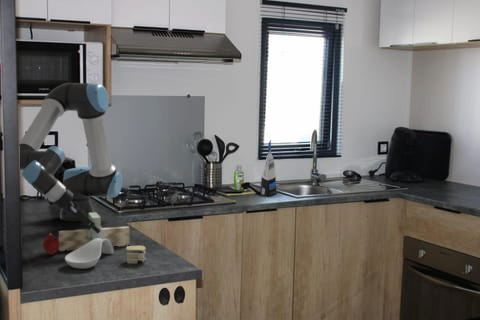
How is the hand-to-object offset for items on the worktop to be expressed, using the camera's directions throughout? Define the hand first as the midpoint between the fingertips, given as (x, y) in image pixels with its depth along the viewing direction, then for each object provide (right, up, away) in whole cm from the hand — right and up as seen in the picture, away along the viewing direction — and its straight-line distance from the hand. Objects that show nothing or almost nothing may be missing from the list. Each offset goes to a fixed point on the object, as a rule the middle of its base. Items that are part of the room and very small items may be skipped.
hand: (102, 234), depth 241 cm
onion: (-16, -6, -12) cm, 21 cm away
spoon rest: (0, -8, -19) cm, 21 cm away
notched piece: (-3, -4, -1) cm, 5 cm away
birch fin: (-3, -5, 0) cm, 6 cm away
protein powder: (+69, +9, +124) cm, 142 cm away
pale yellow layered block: (+16, -8, -19) cm, 26 cm away
